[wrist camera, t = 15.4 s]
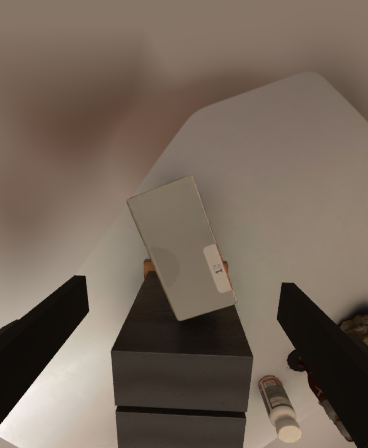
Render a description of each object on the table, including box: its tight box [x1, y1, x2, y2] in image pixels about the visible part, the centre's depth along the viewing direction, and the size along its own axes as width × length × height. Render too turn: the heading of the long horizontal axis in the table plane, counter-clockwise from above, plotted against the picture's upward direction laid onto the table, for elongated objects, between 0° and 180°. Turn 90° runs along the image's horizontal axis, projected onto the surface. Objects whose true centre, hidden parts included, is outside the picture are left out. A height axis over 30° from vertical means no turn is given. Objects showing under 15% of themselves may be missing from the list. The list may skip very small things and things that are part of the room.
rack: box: [111, 259, 253, 448], centre depth 33 cm, size 21×18×22 cm
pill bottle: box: [259, 376, 301, 443], centre depth 43 cm, size 6×6×10 cm
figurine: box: [287, 350, 353, 442], centre depth 39 cm, size 7×7×15 cm
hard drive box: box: [127, 175, 237, 321], centre depth 30 cm, size 16×8×20 cm, turn 20°
